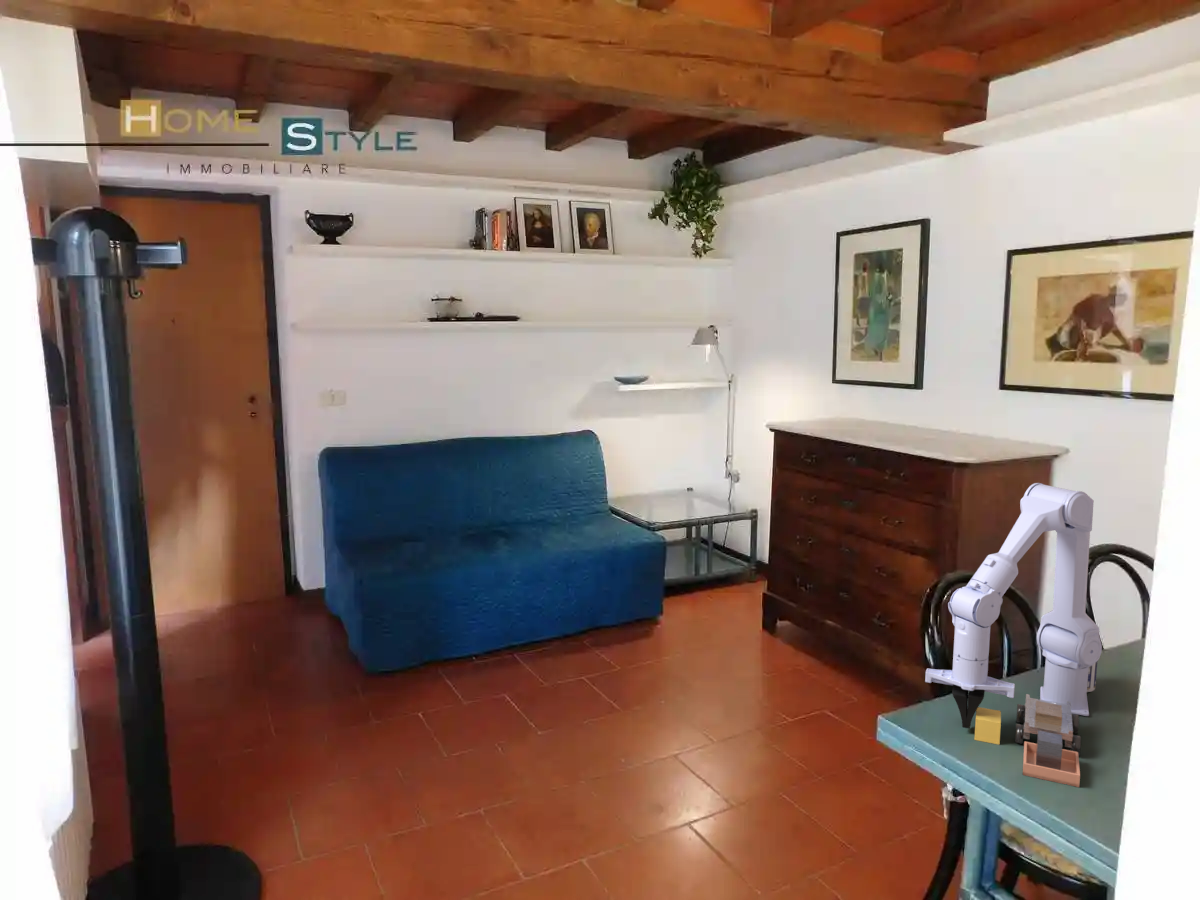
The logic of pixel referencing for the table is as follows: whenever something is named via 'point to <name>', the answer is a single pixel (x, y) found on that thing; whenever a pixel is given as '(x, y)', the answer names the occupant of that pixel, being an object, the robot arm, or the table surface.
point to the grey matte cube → (1049, 750)
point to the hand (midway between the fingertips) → (966, 725)
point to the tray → (1065, 775)
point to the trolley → (1048, 721)
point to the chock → (988, 725)
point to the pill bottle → (1092, 677)
